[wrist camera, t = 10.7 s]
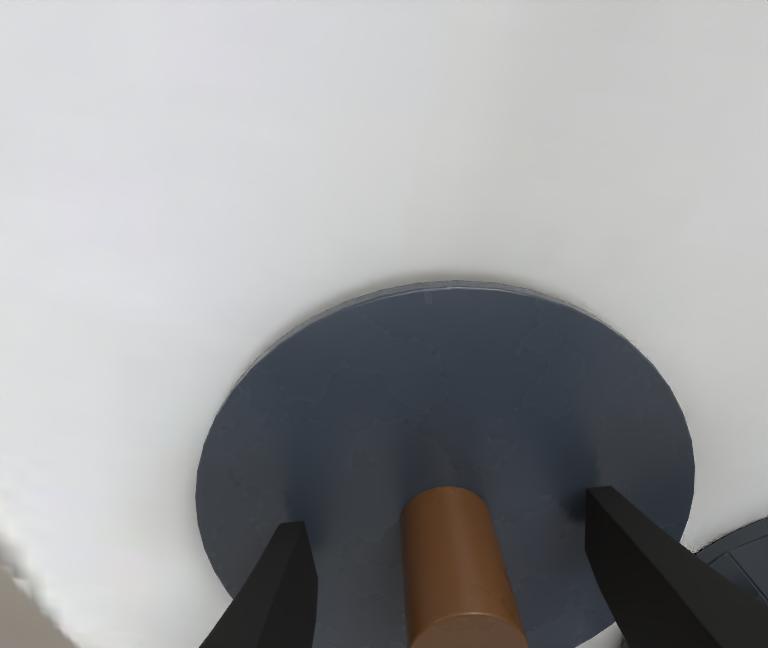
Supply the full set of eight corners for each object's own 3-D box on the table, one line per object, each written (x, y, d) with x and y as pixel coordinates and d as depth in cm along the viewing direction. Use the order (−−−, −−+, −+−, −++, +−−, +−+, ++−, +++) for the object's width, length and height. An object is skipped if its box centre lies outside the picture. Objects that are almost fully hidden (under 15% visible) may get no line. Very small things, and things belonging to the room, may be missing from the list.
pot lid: (695, 238, 12) (886, 308, 7) (654, 627, 16) (755, 809, 12) (146, 309, 12) (16, 416, 8) (264, 667, 17) (226, 858, 13)
